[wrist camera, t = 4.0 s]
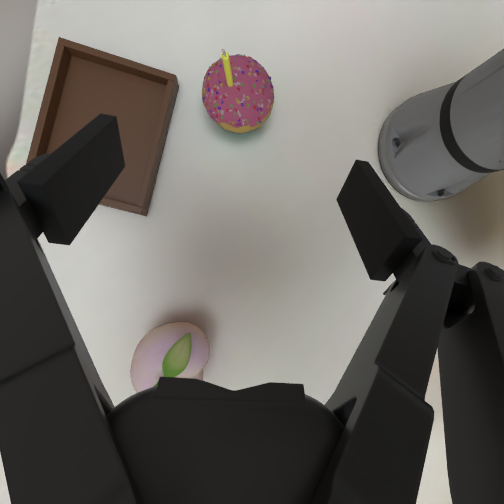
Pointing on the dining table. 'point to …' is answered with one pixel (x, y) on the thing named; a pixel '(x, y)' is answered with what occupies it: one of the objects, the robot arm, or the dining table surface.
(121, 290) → the dining table surface
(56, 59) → the tray
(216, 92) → the cupcake
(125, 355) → the dining table surface
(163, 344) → the decorative fruit
